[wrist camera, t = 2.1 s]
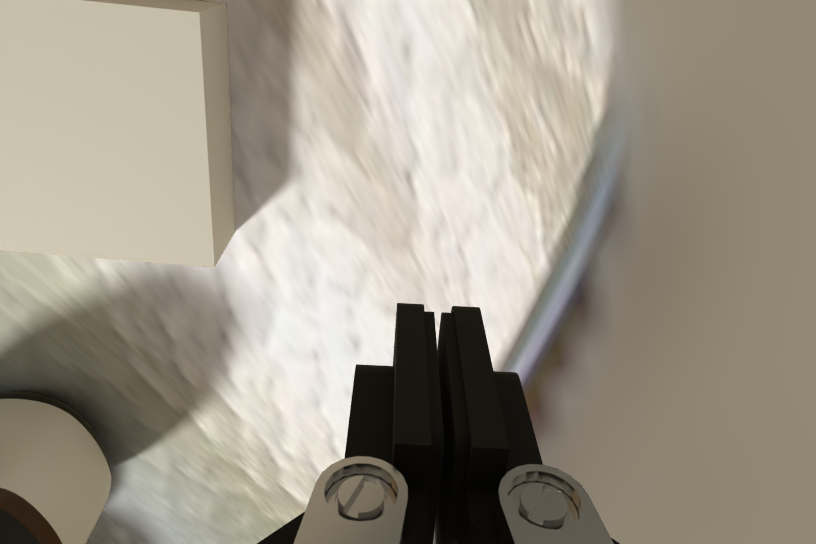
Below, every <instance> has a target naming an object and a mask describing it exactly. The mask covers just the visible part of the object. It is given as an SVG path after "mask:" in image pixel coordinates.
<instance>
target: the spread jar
mask: <svg viewBox="0 0 816 544" xmlns="http://www.w3.org/2000/svg"><path fill="white" fill-rule="evenodd" d="M110 487H111V473H110V466H109V461H108V458H107V455H106V452H105V450H104V447H103V445H102V443H101V441H100V439H99V437H98V435H97V434H96V432H95V431H94V430H93V428H92V427H91V426H90V425H89V423H88V422H87V421H86V420H85V419H84V418H83V417H82V416H81V415H80V414H79V413H77V412H76V411H75V410H74V409H72V408H71V407H69V406H68V405H66V404H64V403H63V402H61V401H59V400H56V399H54V398H51V397H49V396H45V395H42V394H37V393H31V392H5V393H0V544H86V542H87V540H88V538H89V536H90V534H91V532H92V531H93V529H94V527H95V525H96V523H97V521H98V519H99V517H100V515H101V513H102V511H103V509H104V507H105V504H106V502H107V499H108V497H109V492H110Z"/></svg>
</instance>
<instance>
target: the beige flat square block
mask: <svg viewBox="0 0 816 544" xmlns="http://www.w3.org/2000/svg"><path fill="white" fill-rule="evenodd" d="M234 233H235V214H234V189H233V164H232V138H231V113H230V88H229V63H228V37H227V12H226V3H218V2H208V1H199V0H0V250H6V251H18V252H31V253H43V254H55V255H68V256H80V257H92V258H105V259H117V260H129V261H142V262H154V263H166V264H179V265H191V266H203V267H215V266H216V264H217V262H218V261H219V259H220V257H221V255H222V254H223V252H224V250H225V248H226V247H227V245H228V243H229V241H230V240H231V238H232V236H233V235H234Z"/></svg>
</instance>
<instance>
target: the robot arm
mask: <svg viewBox="0 0 816 544" xmlns="http://www.w3.org/2000/svg"><path fill="white" fill-rule="evenodd" d="M434 529H435V539H436V544H619V543H618V542H616V541H615V540H614V539H612V538H611V537H610V535H609V534H608V532H607V530H606V528H605V526H604V524H603V522H602V520H601V518H600V516H599V514H598V512H597V511H596V509H595V507H594V505H593V503H592V501H591V499H590V497H589V495H588V494H587V492H586V491H585V490H584V488H583V487H582V485H581V484H580V483H579V482H577V481H576V480H575V479H574V478H573V477H571V476H570V475H568V474H567V473H564V472H563V471H561V470H559V469H557V468H553V467H550V466H546V465H543V464H542V460H541V456H540V452H539V449H538V445H537V441H536V437H535V434H534V430H533V426H532V423H531V419H530V415H529V412H528V408H527V404H526V400H525V397H524V393H523V389H522V386H521V382H520V379H519V376H518V374H517V373H514V372H495V371H493V367H492V363H491V358H490V353H489V348H488V344H487V339H486V334H485V330H484V325H483V320H482V315H481V311H480V308H479V307H461V306H453V307H452V310H451V313H442V314H441V321H440V330H439V340H438V349H437V343H436V331H435V318H434V312H424V305H423V304H405V303H397V313H396V328H395V343H394V359H393V366H376V365H356V368H355V376H354V385H353V393H352V401H351V410H350V418H349V427H348V435H347V443H346V452H345V459H342V460H340V461H338V462H336V463H334V464H332V465H330V466H329V467H328V468H327V469H326V470H325V471H323V472H322V473H321V475H320V477H319V478H318V480H317V482H316V484H315V486H314V489H313V492H312V495H311V497H310V500H309V503H308V506H307V508H306V511H305V512H304V513H302V514H301V515H299V516H298V517H296V518H295V519H293V520H292V521H290V522H289V523H287V524H286V525H284V526H283V527H281V528H280V529H278V530H277V531H275V532H274V533H272V534H271V535H269V536H268V537H266V538H265V539H263V540H262V541H260V542H259V543H257V544H433V537H434Z"/></svg>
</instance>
